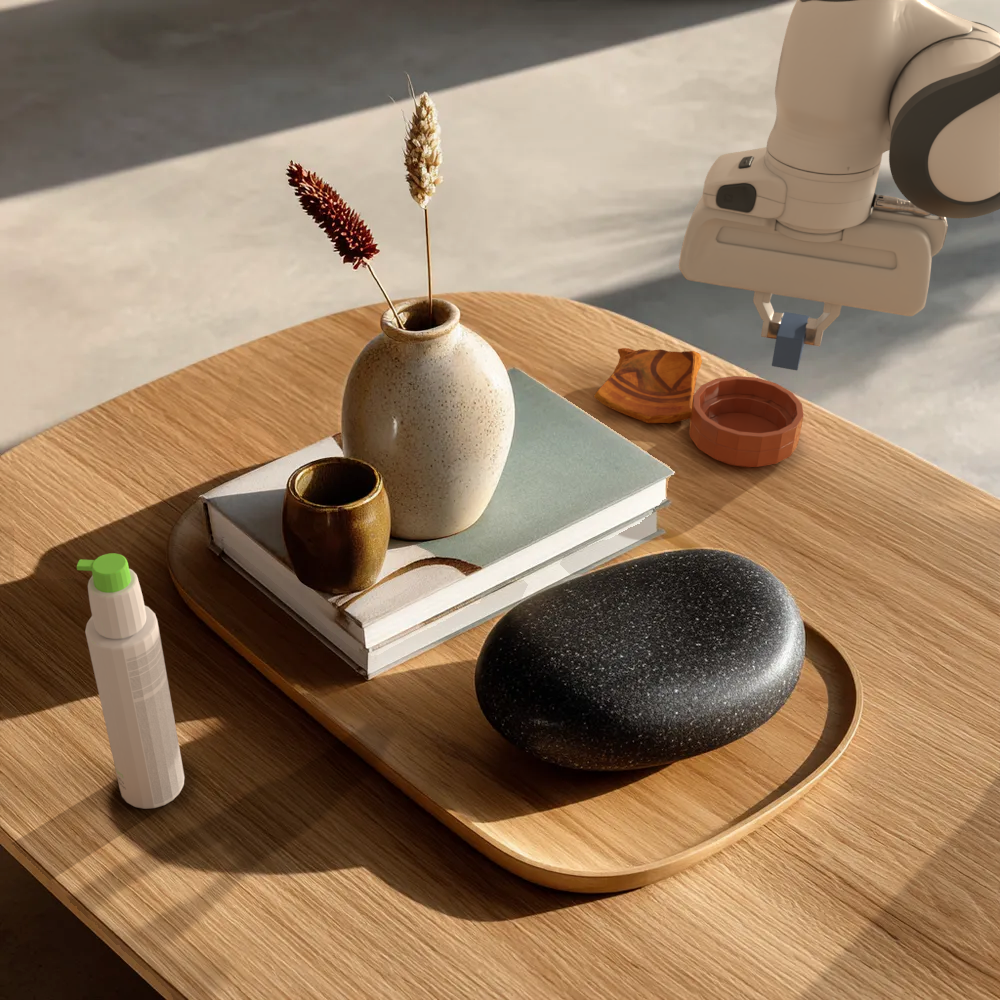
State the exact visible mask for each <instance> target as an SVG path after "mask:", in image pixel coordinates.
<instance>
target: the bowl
mask: <svg viewBox="0 0 1000 1000" xmlns="http://www.w3.org/2000/svg"><path fill="white" fill-rule="evenodd" d="M804 415H805V414H804V409H803V403H802V402H801V401H800V400H799V398H798V397H797V396H796V395H795V394H794V393H793V392H792V391H790V390H789V389H787V388H785V387H784V386H782V385H781V384H778V383H776V382H773V381H770V380H766V379H763V378H759V377H755V376H754V377H753V376H741V375H732V376H731V375H730V376H725V377H718V378H717V377H716V378H714V379H712V380H710V381H707V382H706V383H703V384H702V385H700V386H699V387H698V389H697V390H696V391H695V392H694V395H693V402H692V409H691V416H690V419H689V429H688V430H689V431H688V432H689V438H690V439H691V441H692V442H693V443H694V445H695V446H696V447H697V449H698V450H700V451H701V452H703V453H704V454H706V455H708V456H709V457H711V458H712V459H714V460H716V461H718V462H720V463H724V464H727V465H730V466H734V467H742V468H761V467H766V466H770V465H776V464H778V463H781V462H782V461H785V460H786V459H787V458H790V457H791V456H792V455H793V453H794V452H795V451H796V449H797V448H798V445H799V441H800V436H801V431H802V427H803V421H804Z"/></svg>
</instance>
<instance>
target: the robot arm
mask: <svg viewBox="0 0 1000 1000" xmlns="http://www.w3.org/2000/svg"><path fill="white" fill-rule="evenodd" d="M774 99H775V106H776V107H775V108H776V113H775V114H776V115H775V120H774V124H773V126H772V129H771V131H770V133H769V135H768V138H767V141H766V146H764V147H759V148H755V149H748V150H742V151H735V152H729V153H725V154H721V155H720V156H718V158H716V160H715V161H714V162H713V163H712V165H711V166H710V168H709V170H708V172H707V174H706V177H705V179H704V182H703V188H702V194H701V196H700V198H699V199H698V202H697V203H696V206H695V207H694V208H693V209H694V210H693V212H692V214H691V217H690V219H689V221H688V224H687V227H686V230H685V234H684V237H683V241H682V245H681V249H680V254H679V258H678V259H679V261H678V269H679V271H680V272H681V274H682V276H683V278H685V279H686V280H687V281H690V282H697V283H703V284H708V285H715V286H721V287H727V288H734V289H740V290H745V291H753V292H754V294H753V299H752V303H753V304H754V307H755V308H756V310H757V313H758V314H759V317H760V319H761V320H762V327H761V333H760V337H761V338H767V339H772V340H773V339H774V340H776V337H777V333H778V330H779V328H780V326H781V322H782V319H783V313H784V312H783V313H782V312H777V311H775V310H774V308H773V305H772V303H771V300H772V296H773V295H777V296H783V297H788V298H795V299H802V300H806V301H812V302H818V303H824V305H823V310H822V311H823V312H822V313H821V315H820V316H819V317H818V318H813V317H809V318H808V320H807V324H806V328H805V337H804V342H803V344H804V345H809V346H813V347H820V346H821V344H822V339H823V335H824V331H826V330H827V329H828V328H829V326H830V325H832V324H833V322H834V321H836V320H837V319H838V318H839V317H840V315H841V310H842V307H843V306H844V307H850V308H855V309H863V310H869V311H875V312H882V313H886V314H893V315H899V316H905V317H913V316H915V315H917V314H918V313H919V312H921V311H922V310H924V308H925V307H926V303H927V298H928V293H929V286H930V279H931V270H932V261H933V259H932V258H933V257H934V256H936V255H938V254H939V253H940V252H941V251H942V249H943V248H944V246H945V242H946V237H947V233H948V229H949V223H948V220H947V219H970V218H971V219H972V218H977V217H982V216H985V215H989V214H991V213H994V212H996V211H998V210H1000V32H999V31H997V30H996V29H994V28H993V27H991V26H989V25H987V24H984V23H981V22H977V21H973V20H968V19H966V18H963V17H960V16H958V15H956V14H953V13H951V12H948V11H946V10H944V9H942V8H940V7H939V6H937V5H936V4H934V3H932V2H931V1H929V0H796V1H795V4H794V5H793V8H792V11H791V12H790V16H789V18H788V22H787V26H786V30H785V33H784V38H783V42H782V47H781V53H780V57H779V62H778V68H777V73H776V79H775V88H774ZM885 152H889V153H888V163H889V164H888V165H889V169H890V174H891V177H892V179H893V182H894V184H895V185H896V187H897V189H898V190H899V192H900V193H901V194H902V195H903V197H904V198H905V199H902V198H899V197H895V196H891V195H890V196H889V195H883V194H876V188H877V184H878V180H879V179H878V178H879V175H880V174H879V173H880V169H881V163H882V158H883V154H884V153H885Z"/></svg>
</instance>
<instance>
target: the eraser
mask: <svg viewBox="0 0 1000 1000" xmlns="http://www.w3.org/2000/svg"><path fill="white" fill-rule="evenodd" d="M808 318H810V315H807V314H802V313H801V314H800V313H794V312H788V311H783V319H782V322H781V326H780V328H779V330H778V333H777V337H776V339H775V344H774V349H773V355H772V361H771V367H776V368H780V369H786V370H791V371H798V370H799V366H800V363H801V358H802V356H803V351H804V347H805V344H803V342H804V337H805V328H806V324H807V320H808Z"/></svg>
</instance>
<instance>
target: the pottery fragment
mask: <svg viewBox="0 0 1000 1000" xmlns="http://www.w3.org/2000/svg"><path fill="white" fill-rule="evenodd" d="M617 353H618V355H619V358H618V363H617V364H616V367H615V368H614V370H613V373H612V374H611V375H610V376H609V377H608V378H607V379H606V381H605V382H604V383H603V384H602V385H601V386H600V387H599V388H598V389H597V391H596V392H595V394H594V395H593V398H594V399H595V400H596V401H598V402H599V403H601V404H602V405H604V406H605V407H607V408H609V409H612V410H614V411H616V412H618V413H621V414H623V415H625V416H627V417H630V418H633V419H637V420H639V421H641V422H643V423H646V424H674V423H677V422H681V421H686V420H690V416H691V409H692V402H693V395H694V394H695V389H696V384H697V377H698V374H699V371H700V369H701V367H702V363H703V359H702V355H701V353H700V352H698V351H695V350H685V351H671V350H666V349H646V348H640V349H638V350H637V349H632V348H630V347H620V348H618V349H617Z"/></svg>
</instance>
